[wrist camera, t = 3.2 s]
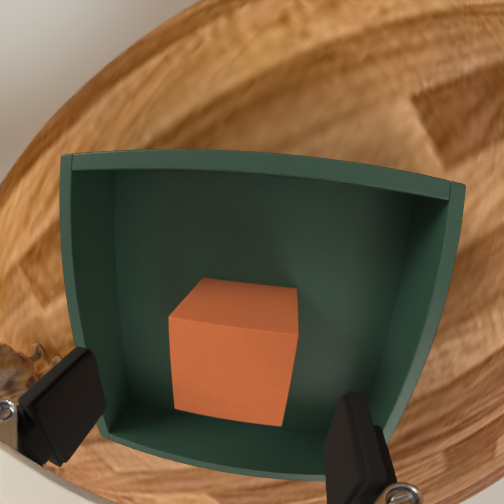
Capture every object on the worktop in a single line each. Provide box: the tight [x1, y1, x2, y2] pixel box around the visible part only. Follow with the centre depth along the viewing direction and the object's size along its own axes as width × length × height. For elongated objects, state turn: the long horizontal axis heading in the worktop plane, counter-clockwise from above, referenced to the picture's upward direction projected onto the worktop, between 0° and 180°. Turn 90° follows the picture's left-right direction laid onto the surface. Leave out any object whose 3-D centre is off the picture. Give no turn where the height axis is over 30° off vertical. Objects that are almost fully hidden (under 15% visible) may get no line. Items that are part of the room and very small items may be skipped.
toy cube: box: [169, 278, 299, 426], centre depth 14 cm, size 5×5×5 cm
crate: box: [60, 149, 466, 481], centre depth 14 cm, size 18×18×4 cm
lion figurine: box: [0, 343, 62, 406], centre depth 16 cm, size 15×5×9 cm, turn 160°
